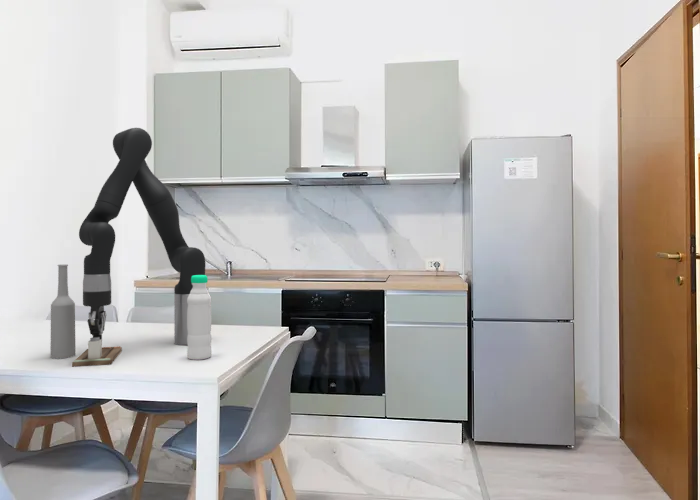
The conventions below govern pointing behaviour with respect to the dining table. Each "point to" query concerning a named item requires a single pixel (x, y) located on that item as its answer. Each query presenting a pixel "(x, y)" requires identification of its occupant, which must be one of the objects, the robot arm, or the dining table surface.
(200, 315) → the water bottle
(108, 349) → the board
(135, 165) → the robot arm
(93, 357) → the slider knob
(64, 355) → the bottle
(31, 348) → the dining table surface
